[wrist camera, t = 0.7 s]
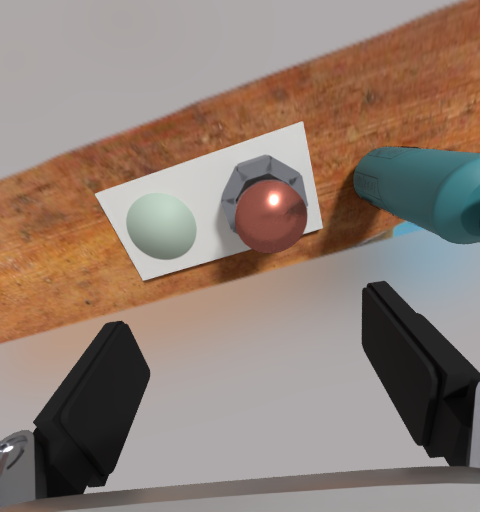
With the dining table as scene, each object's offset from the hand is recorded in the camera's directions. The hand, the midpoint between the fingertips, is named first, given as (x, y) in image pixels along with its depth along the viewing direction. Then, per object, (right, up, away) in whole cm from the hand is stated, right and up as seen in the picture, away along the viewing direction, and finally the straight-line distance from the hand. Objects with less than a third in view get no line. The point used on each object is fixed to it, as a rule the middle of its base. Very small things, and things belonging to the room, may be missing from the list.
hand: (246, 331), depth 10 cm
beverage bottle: (+16, +13, +21) cm, 30 cm away
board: (-4, +9, +23) cm, 25 cm away
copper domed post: (+2, +10, +21) cm, 24 cm away
